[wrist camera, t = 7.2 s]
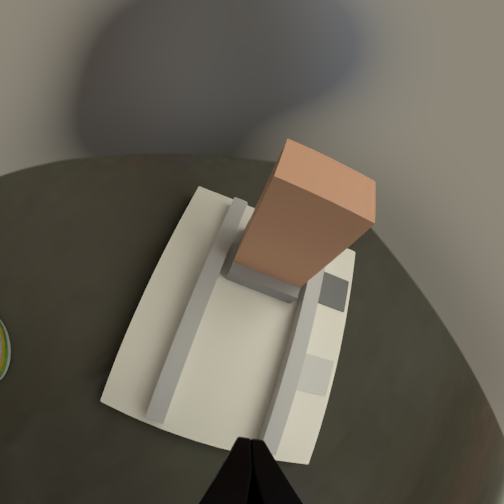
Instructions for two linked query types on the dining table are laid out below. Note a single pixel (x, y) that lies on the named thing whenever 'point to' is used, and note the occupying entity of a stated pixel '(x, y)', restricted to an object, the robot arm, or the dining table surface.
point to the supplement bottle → (4, 350)
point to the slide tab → (301, 222)
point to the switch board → (230, 342)
